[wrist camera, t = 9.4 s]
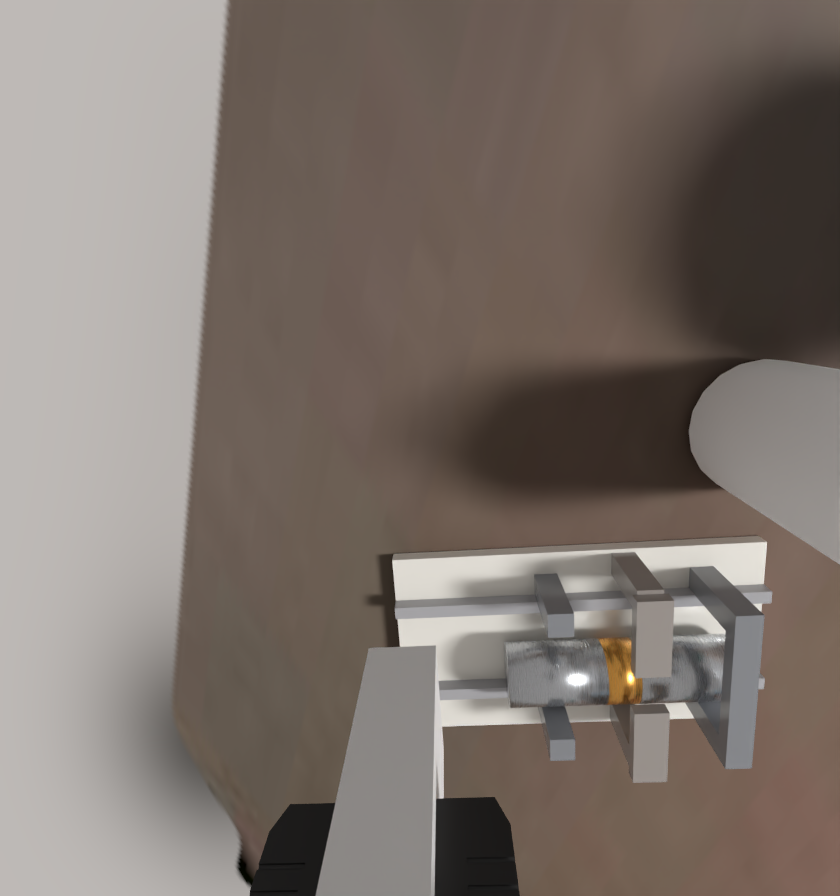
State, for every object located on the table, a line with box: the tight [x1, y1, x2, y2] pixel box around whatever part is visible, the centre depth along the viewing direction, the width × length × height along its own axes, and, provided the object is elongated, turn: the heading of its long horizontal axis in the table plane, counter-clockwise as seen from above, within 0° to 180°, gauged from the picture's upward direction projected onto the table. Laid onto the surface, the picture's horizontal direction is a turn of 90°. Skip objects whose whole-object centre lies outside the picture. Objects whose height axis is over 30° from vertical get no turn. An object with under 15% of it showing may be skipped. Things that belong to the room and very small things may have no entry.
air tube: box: [504, 634, 725, 708], centre depth 37 cm, size 14×4×4 cm, turn 94°
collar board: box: [392, 536, 772, 783], centre depth 36 cm, size 13×24×7 cm, turn 94°
